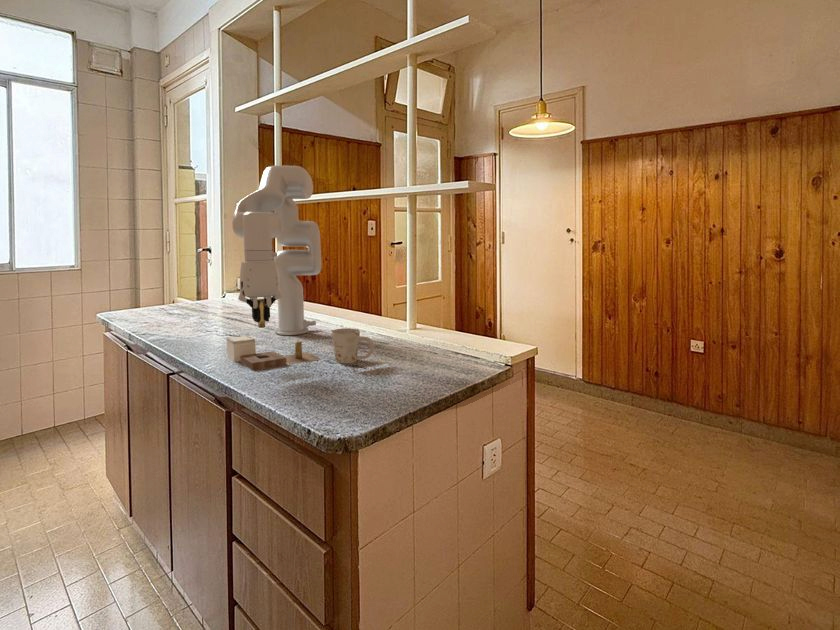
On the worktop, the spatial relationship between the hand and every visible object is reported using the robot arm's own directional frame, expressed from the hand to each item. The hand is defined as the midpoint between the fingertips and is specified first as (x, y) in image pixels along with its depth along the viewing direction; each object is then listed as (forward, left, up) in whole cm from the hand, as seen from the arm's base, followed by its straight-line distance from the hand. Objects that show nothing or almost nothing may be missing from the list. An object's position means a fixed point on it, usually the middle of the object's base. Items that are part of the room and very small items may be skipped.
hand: (261, 320), depth 148 cm
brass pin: (0, 0, -2) cm, 2 cm away
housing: (+3, -10, -14) cm, 17 cm away
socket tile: (0, 0, -14) cm, 14 cm away
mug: (-23, +12, -14) cm, 29 cm away
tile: (-11, 0, -14) cm, 18 cm away
